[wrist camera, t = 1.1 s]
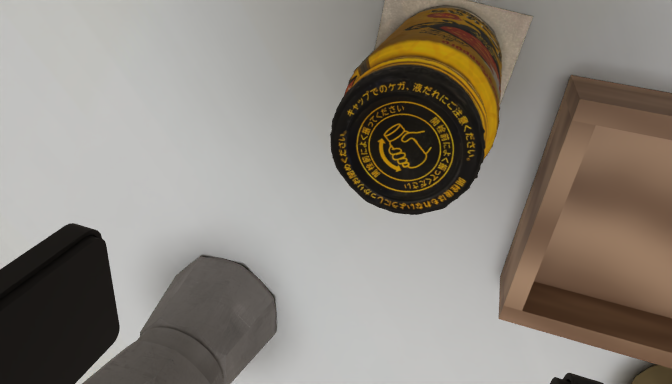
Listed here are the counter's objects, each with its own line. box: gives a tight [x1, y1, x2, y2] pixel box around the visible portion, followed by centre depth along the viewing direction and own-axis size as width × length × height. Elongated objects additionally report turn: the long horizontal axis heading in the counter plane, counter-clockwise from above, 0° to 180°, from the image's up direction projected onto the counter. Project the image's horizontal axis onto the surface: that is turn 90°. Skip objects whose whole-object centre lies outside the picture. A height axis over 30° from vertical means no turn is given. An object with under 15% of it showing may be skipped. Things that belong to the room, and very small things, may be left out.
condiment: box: [330, 0, 533, 215], centre depth 22 cm, size 7×8×12 cm
